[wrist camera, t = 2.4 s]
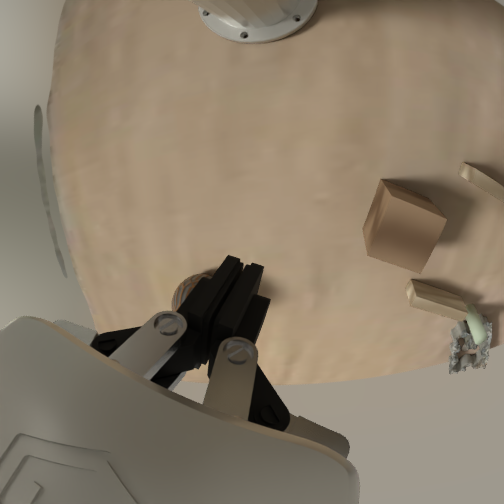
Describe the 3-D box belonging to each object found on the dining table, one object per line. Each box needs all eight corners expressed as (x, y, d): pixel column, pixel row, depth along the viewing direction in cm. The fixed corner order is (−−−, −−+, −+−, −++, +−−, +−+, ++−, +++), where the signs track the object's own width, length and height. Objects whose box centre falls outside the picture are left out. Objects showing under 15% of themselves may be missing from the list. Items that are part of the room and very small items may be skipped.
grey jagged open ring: (480, 352, 31) (485, 370, 27) (444, 363, 34) (448, 382, 31) (490, 308, 27) (499, 327, 24) (449, 321, 30) (456, 341, 27)
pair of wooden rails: (462, 161, 21) (476, 169, 18) (512, 193, 19) (527, 204, 16) (405, 288, 30) (410, 306, 27) (455, 304, 28) (462, 321, 26)
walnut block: (380, 178, 25) (391, 195, 20) (428, 198, 24) (447, 219, 19) (362, 228, 28) (367, 255, 23) (408, 244, 27) (420, 273, 22)
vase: (241, 290, 37) (218, 335, 30) (214, 312, 41) (190, 353, 34) (203, 257, 36) (170, 296, 29) (180, 282, 40) (149, 320, 33)
